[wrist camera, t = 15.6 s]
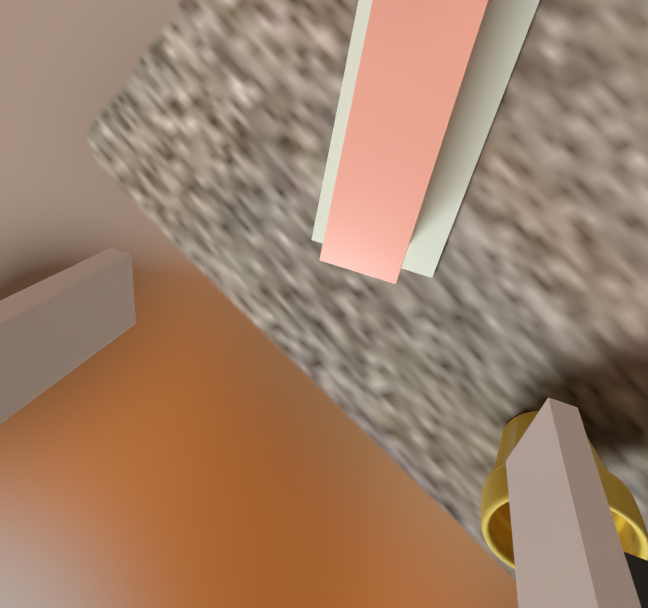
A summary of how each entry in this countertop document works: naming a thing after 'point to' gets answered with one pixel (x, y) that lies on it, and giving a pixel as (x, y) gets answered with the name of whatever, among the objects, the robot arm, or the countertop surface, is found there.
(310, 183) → the countertop surface
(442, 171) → the pale green flat board
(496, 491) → the plant pot
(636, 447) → the countertop surface
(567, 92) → the countertop surface
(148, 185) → the countertop surface
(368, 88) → the long pink block
